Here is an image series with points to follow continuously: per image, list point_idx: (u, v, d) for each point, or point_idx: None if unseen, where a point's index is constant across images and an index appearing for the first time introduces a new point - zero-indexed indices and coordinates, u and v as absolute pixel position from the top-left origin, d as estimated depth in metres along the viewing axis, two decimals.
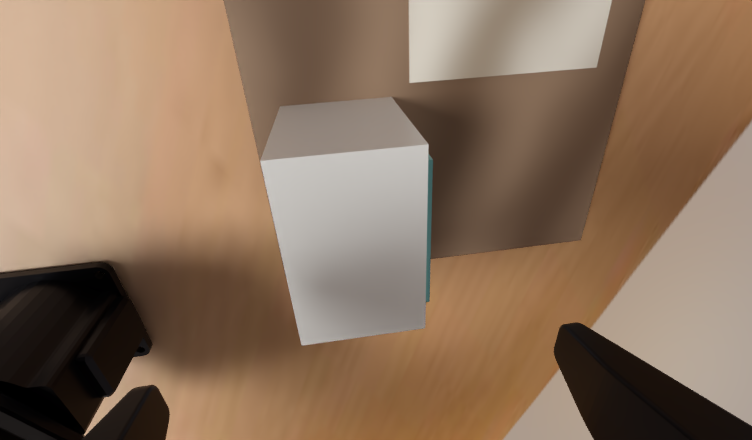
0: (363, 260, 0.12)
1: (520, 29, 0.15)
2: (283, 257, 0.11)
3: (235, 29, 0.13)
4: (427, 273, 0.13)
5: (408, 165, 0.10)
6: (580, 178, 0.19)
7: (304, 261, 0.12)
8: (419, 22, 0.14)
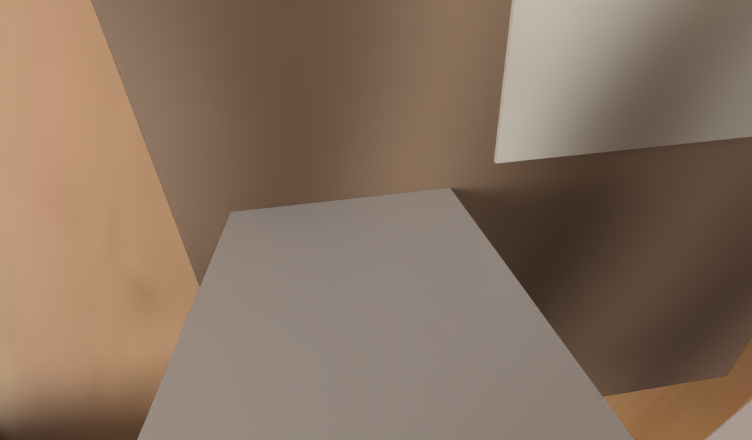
0: None
1: (723, 58, 0.07)
2: None
3: (128, 65, 0.06)
4: None
5: None
6: None
7: None
8: (529, 47, 0.07)
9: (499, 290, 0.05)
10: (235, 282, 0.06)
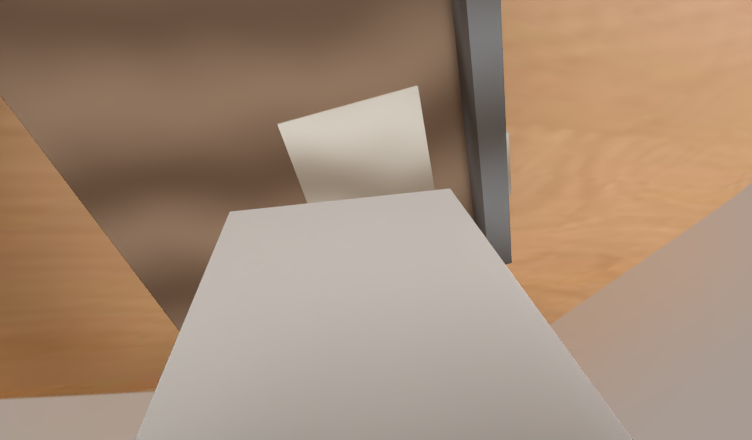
0: None
1: None
2: None
3: None
4: None
5: None
6: None
7: None
8: (330, 119, 0.16)
9: (499, 291, 0.05)
10: (233, 282, 0.05)
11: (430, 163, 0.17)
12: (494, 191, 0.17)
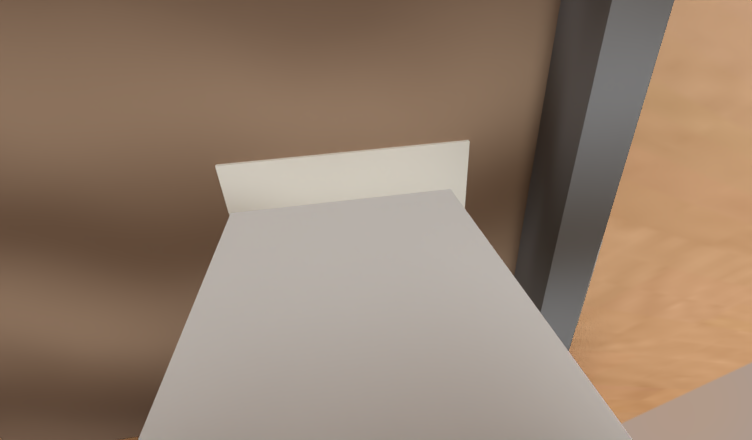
0: None
1: None
2: None
3: None
4: None
5: None
6: (124, 421, 0.12)
7: None
8: (311, 172, 0.09)
9: (499, 292, 0.05)
10: (235, 284, 0.06)
11: None
12: (556, 323, 0.11)
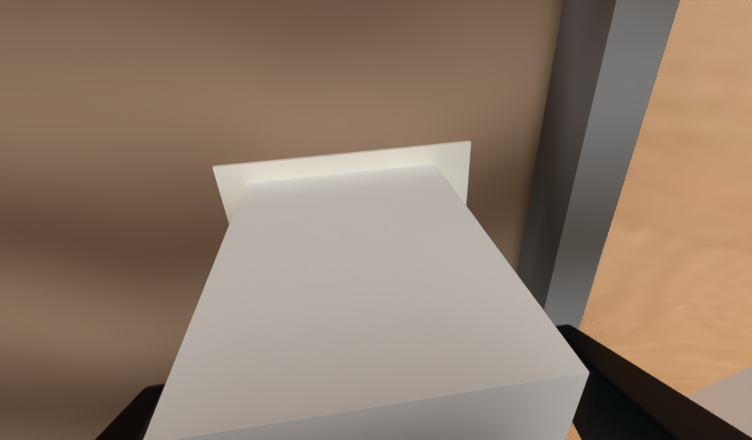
0: None
1: None
2: None
3: None
4: None
5: (530, 413, 0.04)
6: None
7: None
8: (310, 173, 0.09)
9: (467, 235, 0.06)
10: (253, 232, 0.07)
11: None
12: None
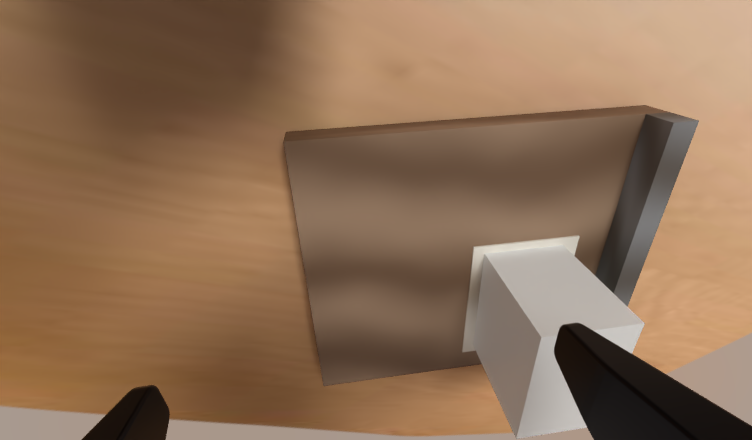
0: None
1: None
2: (529, 387, 0.17)
3: (534, 126, 0.17)
4: None
5: (628, 334, 0.16)
6: (381, 368, 0.24)
7: (541, 389, 0.17)
8: (510, 249, 0.20)
9: (594, 282, 0.18)
10: (512, 279, 0.18)
11: None
12: None
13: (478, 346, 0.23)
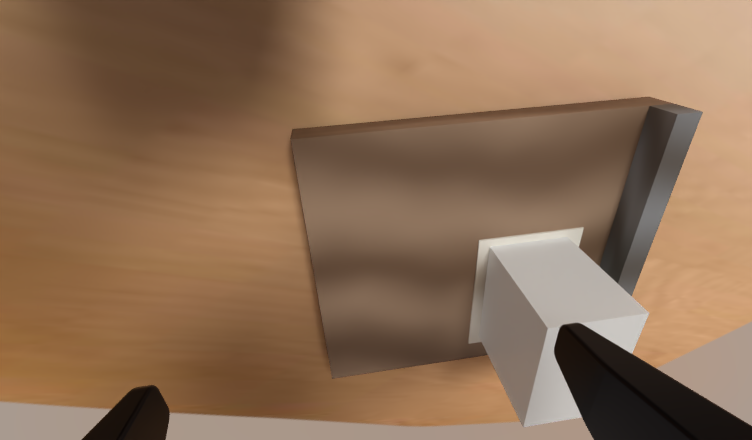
0: None
1: None
2: (536, 377, 0.17)
3: (538, 119, 0.17)
4: None
5: (633, 324, 0.16)
6: (389, 360, 0.24)
7: (548, 378, 0.17)
8: (515, 241, 0.21)
9: (599, 273, 0.18)
10: (518, 271, 0.19)
11: None
12: None
13: (484, 337, 0.23)
